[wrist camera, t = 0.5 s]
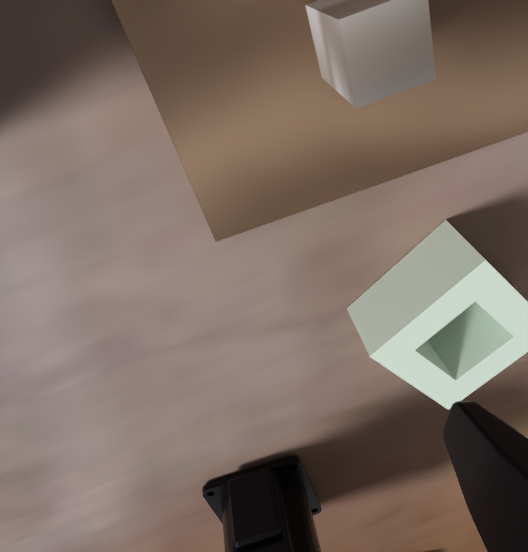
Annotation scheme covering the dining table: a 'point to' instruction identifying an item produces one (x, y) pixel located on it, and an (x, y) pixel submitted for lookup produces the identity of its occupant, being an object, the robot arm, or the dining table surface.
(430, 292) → the collar
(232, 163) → the shaft base
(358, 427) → the dining table surface
